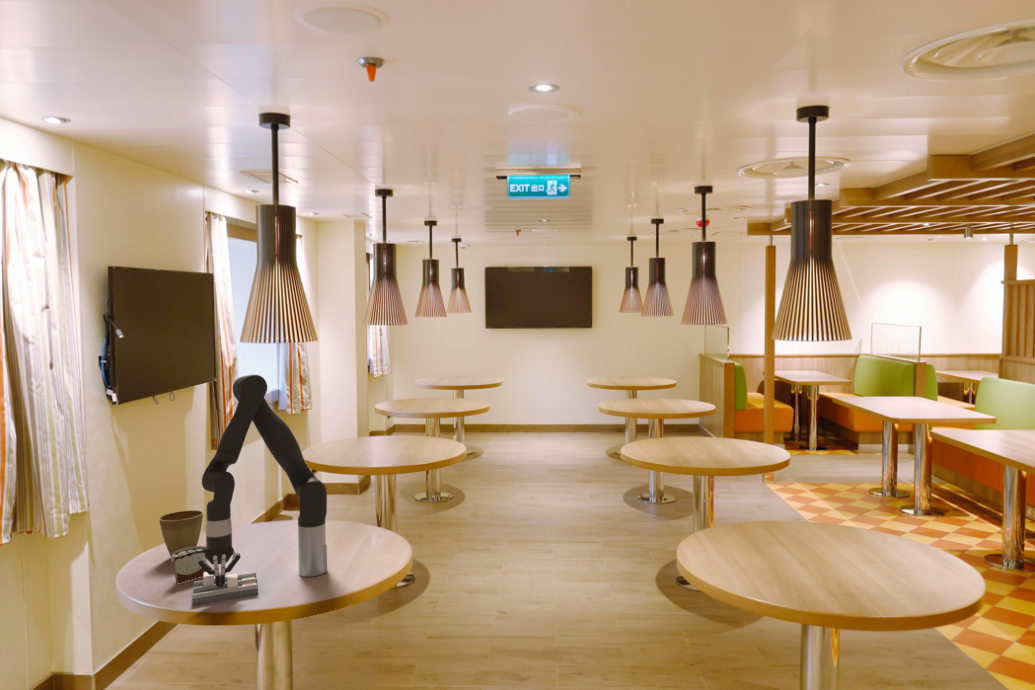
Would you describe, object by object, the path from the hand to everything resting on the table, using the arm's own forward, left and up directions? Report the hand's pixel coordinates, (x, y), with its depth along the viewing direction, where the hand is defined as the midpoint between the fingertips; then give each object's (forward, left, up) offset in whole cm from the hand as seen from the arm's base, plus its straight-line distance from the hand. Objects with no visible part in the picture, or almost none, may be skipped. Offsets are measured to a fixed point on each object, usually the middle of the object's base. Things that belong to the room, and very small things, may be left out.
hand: (220, 585), depth 206 cm
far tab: (+3, -6, -1) cm, 7 cm away
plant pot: (+13, -49, -4) cm, 51 cm away
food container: (+10, -23, -4) cm, 25 cm away
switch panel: (-2, -3, -4) cm, 5 cm away
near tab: (-4, 0, -1) cm, 4 cm away
